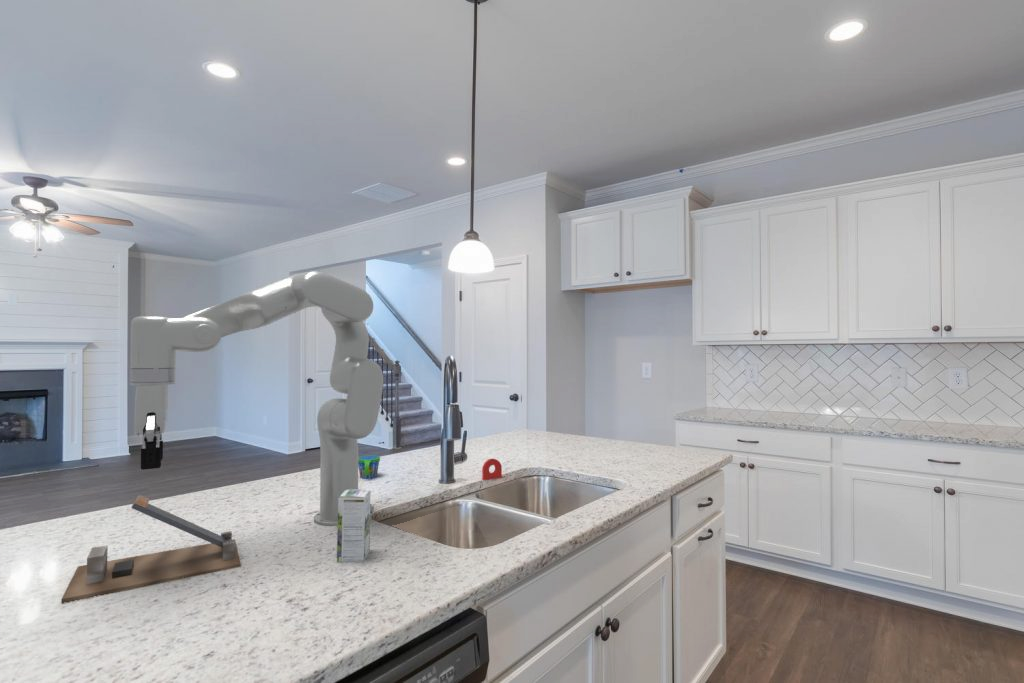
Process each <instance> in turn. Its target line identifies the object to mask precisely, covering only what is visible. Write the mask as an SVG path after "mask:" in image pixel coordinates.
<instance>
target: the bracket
mask: <svg viewBox="0 0 1024 683" xmlns="http://www.w3.org/2000/svg"><path fill="white" fill-rule="evenodd" d="M492 466H494V471H492V472H491V471H490V467H492ZM481 470H482V471H481V472H482V474H481V475H482V476H481V477H482V478H481V479H482V481H486V480H494V479H500V478H503V476H502V475H503V474H502V472H503V471H502V470H503V468H502V463H501V461H499V460H498V459H496V458H489V459H486V460H485V462H484V463H483V465H482V469H481Z"/></svg>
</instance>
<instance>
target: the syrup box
mask: <svg viewBox="0 0 1024 683" xmlns="http://www.w3.org/2000/svg"><path fill="white" fill-rule="evenodd" d="M371 491H372V490H370V489H363V488H362V489H361V488H358V489H350V490H345V491H344V492H343V493H342V495H341V496H340V497H339V498H338V526H337V530H336V531H337V532H336V533H337V534H336V535H337V539H336V540H337V541H336V542H337V543H336V563H345V562H347V563H348V562H364V561H365V560H366V558H367V556H368V554H369V552H370V540H371V539H370V537H371V536H370V534H371V533H370V532H371V514H370V504H371V495H372V494H371V493H372V492H371Z"/></svg>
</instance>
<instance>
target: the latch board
mask: <svg viewBox="0 0 1024 683" xmlns="http://www.w3.org/2000/svg"><path fill="white" fill-rule="evenodd" d="M232 533H233V532H232V531H224V532H221V533H220V536H222V537H224V538H225V537H230V539H231V541H232V542H226V543H223V548H222V547H219V546H217V545H215V544H212V543H210V542H209V543H205V544H199V545H195V546H188V547H182V548H176V549H169V550H164V551H158V552H153V553H148V554H142V555H136V556H135V555H134V556H129V557H123V558H119V559H118V558H117V559H114V560H108V546H109V545H101V546H96V547H91V549H90V551H89V554H88V556H87V558H86V564H84V565H78V566H77V567H76V569H75V571H74V574H73V575H72V578H71V579H70V581H69V582H68V586H67V588H66V589H65V592H64V593H63V595H62V597H61V603H62V604H65V603H64V602H67V603H71V602H70V601H72V602H76V601H75V600H77V601H80V599H82V600H86V599H91V598H95V597H94V596H96V597H99V596H98V595H101V596H105V595H104V594H106V595H110V594H109V593H111V594H115V593H118V592H119V593H121V592H124V591H129V590H134V589H139V588H144V587H149V586H154V585H157V584H164V583H169V582H173V581H177V580H182V579H188V578H192V577H196V576H201V575H205V574H207V575H208V574H211V573H216V572H221V571H225V570H230V569H235V568H240V567H242V563H241V558H240V555H239V550H238V546H237V545H238V544H237V540H236V539H234V538H233V537H232V535H233V534H232ZM114 592H115V593H114ZM90 597H91V598H90ZM85 598H86V599H85ZM61 603H60V604H61Z"/></svg>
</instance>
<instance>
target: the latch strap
mask: <svg viewBox="0 0 1024 683" xmlns="http://www.w3.org/2000/svg"><path fill="white" fill-rule="evenodd" d="M149 501H150V498H148V497H145V496H144V495H141V494H139V495H138V496H137V497H136V499H135V500H134V501H133V503H132V504H131V509H133V510H134V511H137V512H140V513H142V514H144V515H146V516H149V517H151V518H153V519H156V520H158V521H161V522H162V523H165V524H166V525H169V526H171V527H173V528H177V529H179V530H181V531H183V532H185V533H188V534H189V535H192V536H194V537H196V538H199V539H202V540H203V541H206V542H208V543H209V544H210V543H212V544H215V545H217V546H219V547H222V548H223V543H226V542H232V541H231V539H230V537H225V538H224V537H222V536H221V534H220V535H219V534H218V533H216V532H213V531H211V530H209V529H206V528H204V527H203V526H200V525H198V524H195V523H193V522H191V521H188V520H186V519H184V518H181V517H179V516H178V515H175V514H174V513H173V514H172V513H171V512H168V511H166V510H164V509H161V508H160V507H157V506H155V505H153V504H150V503H149Z"/></svg>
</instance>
